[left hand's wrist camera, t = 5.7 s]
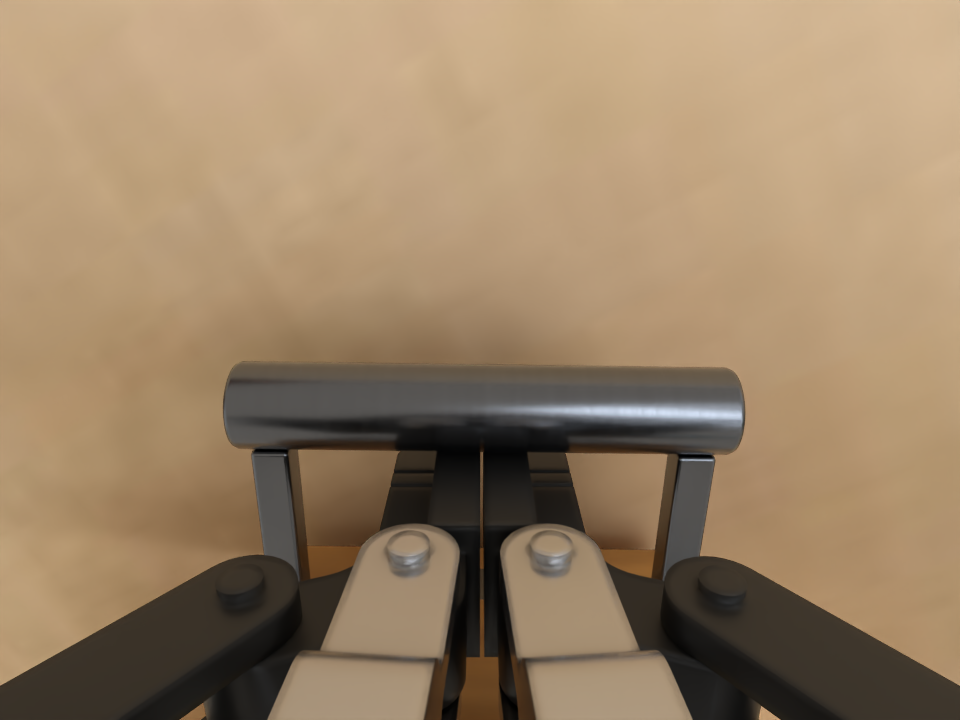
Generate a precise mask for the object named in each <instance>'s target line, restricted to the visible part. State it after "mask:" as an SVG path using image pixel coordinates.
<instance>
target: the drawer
mask: <svg viewBox="0 0 960 720" xmlns="http://www.w3.org/2000/svg"><path fill="white" fill-rule="evenodd" d="M223 419H224V426H225V431H226V435H227V437H228V440H229V441H230V443H231V444H232V445H233V446H234V447H237V448H239V449H254V450H253V451H252V454H251V457H252V465H253V473H254V481H255V488H256V496H257V504H258V512H259V519H260V527H261V535H262V543H263V550H264V555H268V556H274V557H277V558H280V559H283V560H285V561H287V562H288V563H289V564H290V565H292V566H293V568H294V569H295V570H296V573H297V576H298V582H299V581H304V580H308V579H313V578H317V577H322V576H326V575H330V574H333V573H337V572H340V571H342V570H345V569H347V568H349V567H351V566H353V565H354V563H355V560H356V558H357V555H358V553H359V550H360V549H361V547H362V546H307V538H306V528H305V518H304V508H303V498H302V488H301V478H300V468H299V458H298V450H375V451H455V452H536V453H617V454H668V457H667V464H666V472H665V479H664V487H663V494H662V501H661V509H660V516H659V524H658V531H657V539H656V546H655V550H619V549H600V550H601V553H602V555H603V558H604V560H605V561H606V562H607V563H609V564H610V565H612V566H614V567H616V568H618V569H621V570H623V571H626V572H629V573H632V574H636V575H640V576H644V577H649V578H653V579H658V580H662V581H664V580H665V576H666V573H667V571H668V570H669V568H670V567H671V566H672V565H674V564H675V563H677V562H679V561H681V560H683V559H687V558H691V557H699V556H700V550H701V544H702V538H703V532H704V526H705V520H706V514H707V508H708V502H709V496H710V490H711V484H712V477H713V471H714V465H715V457H714V456H713V455H728V454H730V453H732V452H734V451H735V450H736V449H737V448H738V446H739V444H740V442H741V439H742V436H743V432H744V425H745V401H744V394H743V390H742V386H741V383H740V381H739V378H738V377H737V375H736V374H735V372H733V371H732V370H730V369H728V368H716V367H640V366H563V365H486V364H409V363H332V362H256V361H243V362H240V363H238V364H236V365H235V366H234V367H233V368H232V370H231V371H230V374H229V376H228V379H227V382H226V386H225V391H224V399H223ZM498 691H499V671H498V657H484V565H483V548H480V657H466V680H465V684H464V687H463V690H462V708H461V716H460V720H500V716H499V708H498Z"/></svg>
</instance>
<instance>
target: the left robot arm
mask: <svg viewBox="0 0 960 720" xmlns="http://www.w3.org/2000/svg"><path fill="white" fill-rule="evenodd" d="M483 565H484V657H498V671H499V691H498V708H499V716H500V720H759V719H758V718H759V713H760V709H761V706H762V707H764V708H765V709H767V710H768V711H769V712H771V713H772V714H774V715H775V716H776V717H778V718H779V719H781V720H960V686H959V685H957V684H955V683H954V682H952V681H950V680H948V679H947V678H945V677H943V676H941V675H939V674H938V673H936V672H934V671H932V670H930V669H929V668H927V667H925V666H923V665H922V664H920V663H918V662H916V661H914V660H913V659H911V658H909V657H907V656H906V655H904V654H902V653H900V652H898V651H897V650H895V649H893V648H891V647H889V646H888V645H886V644H884V643H882V642H881V641H879V640H877V639H875V638H873V637H872V636H870V635H868V634H866V633H864V632H863V631H861V630H859V629H857V628H856V627H854V626H852V625H850V624H848V623H847V622H845V621H843V620H841V619H839V618H838V617H836V616H834V615H832V614H831V613H829V612H827V611H825V610H823V609H822V608H820V607H818V606H816V605H815V604H813V603H811V602H809V601H807V600H806V599H804V598H802V597H800V596H798V595H797V594H795V593H793V592H791V591H790V590H788V589H786V588H784V587H782V586H781V585H779V584H777V583H775V582H773V581H772V580H770V579H768V578H766V577H765V576H763V575H761V574H759V573H757V572H756V571H754V570H752V569H750V568H748V567H746V566H744V565H742V564H739V563H737V562H734V561H731V560H727V559H723V558H718V557H708V556H699V557H691V558H687V559H683V560H681V561H679V562H677V563H675V564H674V565H672V566H671V567H670V568H669V570H668V571H667V573H666V576H665V580H664V581H662V580H658V579H653V578H649V577H644V576H640V575H636V574H632V573H629V572H626V571H623V570H621V569H618V568H616V567H614V566H612V565H610V564H609V563H607V562H606V561H605V560H604V558H603V555H602V553H601V550H600V549H599V547H598V545H597V544H596V543H595V542H594V540H592V539H591V538H590V537H589V536H587V535H586V534H585V530H584V526H583V522H582V518H581V514H580V510H579V506H578V502H577V498H576V494H575V490H574V487H573V482H572V478H571V474H570V470H569V466H568V462H567V458H566V454H565V453H536V452H483ZM466 657H480V452H455V451H401V452H400V453H398V456H397V460H396V464H395V469H394V473H393V477H392V481H391V487H390V490H389V494H388V498H387V502H386V506H385V510H384V515H383V519H382V523H381V527H380V531H379V532H377V533H376V534H374V535H373V536H371V537H370V538H369V539H368V540H366V542H365V543H364V544H363V545H362V547H361V549H360V550H359V553H358V555H357V558H356V560H355V563H354V565H353V566H351V567H349V568H347V569H345V570H342V571H340V572H337V573H333V574H330V575H326V576H322V577H317V578H313V579H308V580H304V581H299V582H298V576H297V573H296V570H295V569H294V568H293V566H292V565H290V564H289V563H288V562H287V561H285V560H283V559H280V558H277V557H274V556H268V555H249V556H243V557H237V558H234V559H230V560H227V561H225V562H222V563H220V564H218V565H216V566H214V567H212V568H210V569H208V570H206V571H204V572H203V573H201V574H199V575H197V576H195V577H194V578H192V579H190V580H188V581H187V582H185V583H183V584H181V585H179V586H178V587H176V588H174V589H172V590H170V591H169V592H167V593H165V594H163V595H162V596H160V597H158V598H156V599H154V600H153V601H151V602H149V603H147V604H145V605H144V606H142V607H140V608H138V609H137V610H135V611H133V612H131V613H129V614H128V615H126V616H124V617H122V618H121V619H119V620H117V621H115V622H113V623H112V624H110V625H108V626H106V627H104V628H103V629H101V630H99V631H97V632H96V633H94V634H92V635H90V636H88V637H87V638H85V639H83V640H81V641H79V642H78V643H76V644H74V645H72V646H71V647H69V648H67V649H65V650H63V651H62V652H60V653H58V654H56V655H55V656H53V657H51V658H49V659H47V660H46V661H44V662H42V663H40V664H38V665H37V666H35V667H33V668H31V669H30V670H28V671H26V672H24V673H22V674H21V675H19V676H17V677H15V678H13V679H12V680H10V681H8V682H6V683H5V684H3V685H1V686H0V720H179V719H181V718H182V717H184V716H185V715H186V714H188V713H189V712H191V711H192V710H193V709H195V708H196V707H198V706H199V705H200V704H202V703H204V708H205V713H206V716H205V717H204V718H203V719H201V720H460V716H461V708H462V690H463V687H464V684H465V680H466Z"/></svg>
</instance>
